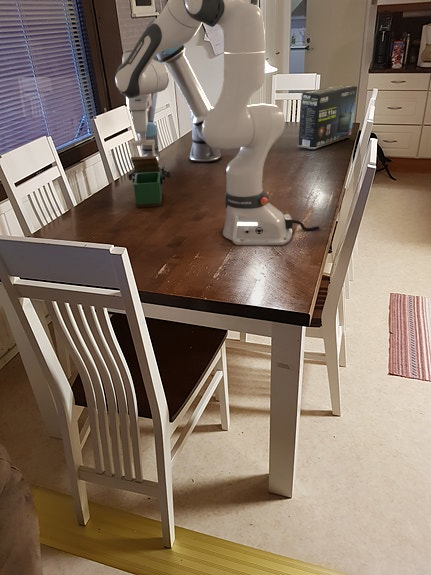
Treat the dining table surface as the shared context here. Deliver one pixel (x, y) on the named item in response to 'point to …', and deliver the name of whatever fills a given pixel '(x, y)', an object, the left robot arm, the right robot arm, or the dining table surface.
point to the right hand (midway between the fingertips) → (143, 140)
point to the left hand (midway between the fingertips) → (148, 181)
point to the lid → (145, 159)
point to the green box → (148, 189)
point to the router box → (326, 115)
